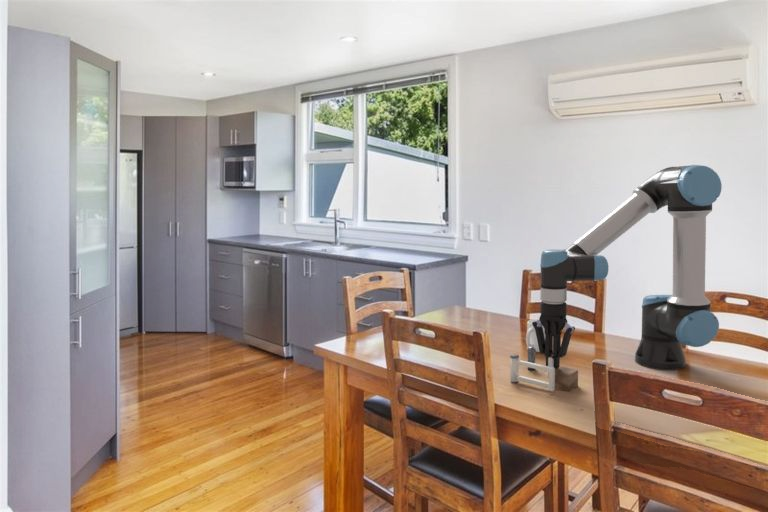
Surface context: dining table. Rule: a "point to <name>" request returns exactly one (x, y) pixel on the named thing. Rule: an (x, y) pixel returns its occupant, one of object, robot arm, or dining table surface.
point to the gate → (515, 362)
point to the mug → (532, 335)
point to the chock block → (566, 378)
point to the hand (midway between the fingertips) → (552, 377)
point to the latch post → (531, 356)
